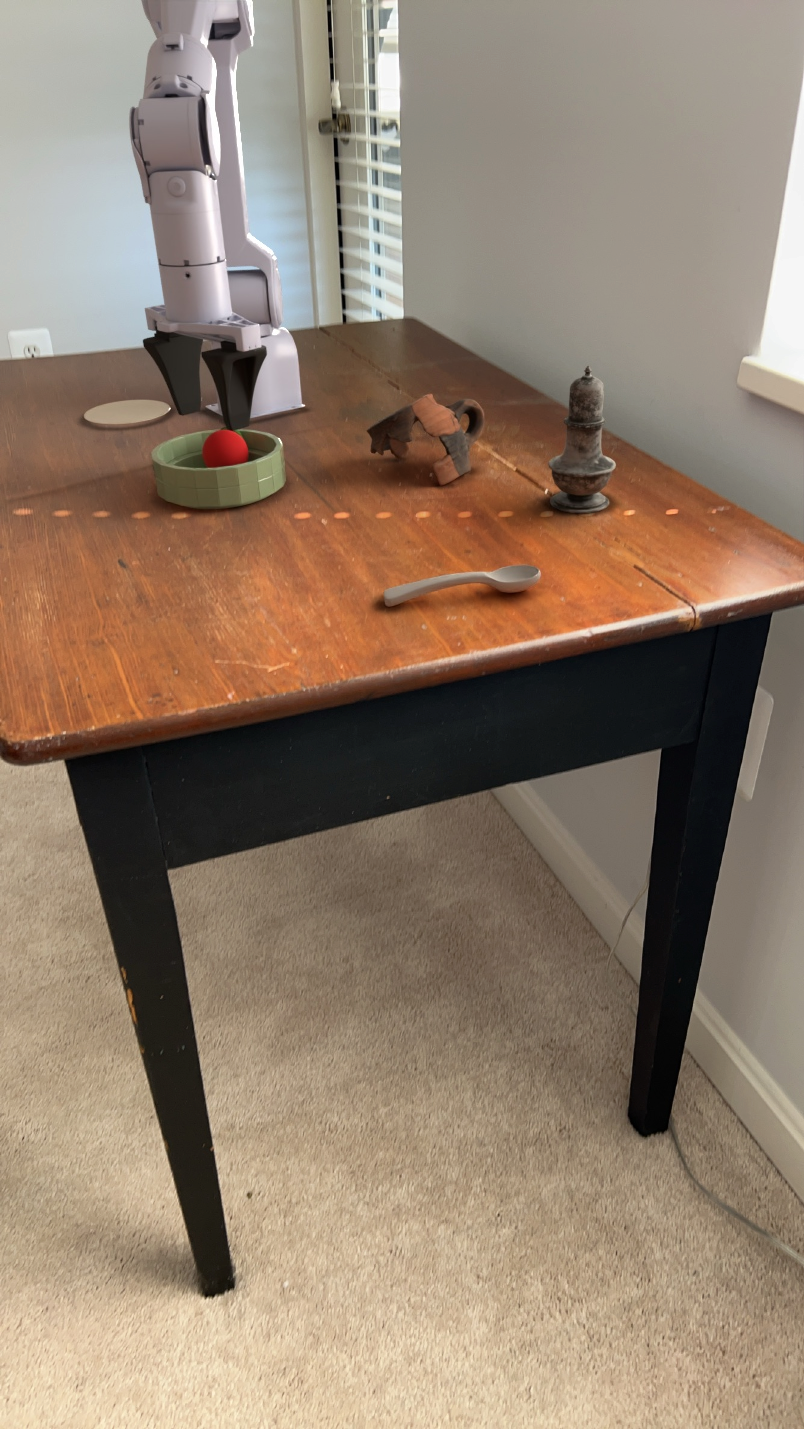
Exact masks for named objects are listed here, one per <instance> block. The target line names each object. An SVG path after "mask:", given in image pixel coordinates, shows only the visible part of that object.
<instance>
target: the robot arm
mask: <svg viewBox="0 0 804 1429" xmlns="http://www.w3.org/2000/svg"><path fill="white" fill-rule="evenodd" d="M141 4H142V8H143V12H144V15H145V17H146V19H147V20H148V22H149V24H150V27H151V29H152V32H153V33H154V36H155V37H156V39H155V40H154V42H153V43H152V44H151V46H150V47H149V50H148V53H147V57H146V66H145V75H144V76H145V77H144V86H143V95H142V98H140V99H139V101H138V106H137V107H135V106H131V107H130V109H129V114H128V115H129V119H128V120H129V122H128V125H129V137H130V144H131V149H132V154H133V157H134V158H133V159H134V161H135V165H136V168H137V171H138V174H139V175H138V176H139V179H140V184H141V189H142V190H141V191H142V195H143V198H144V203H145V204H148V205H149V210H150V218H151V225H152V231H153V238H154V244H155V251H156V252H155V253H156V258H157V263H158V264H157V265H158V271H159V278H160V285H161V292H162V297H163V298H162V299H163V303H164V304H158V305H153V306H148V307H145V308H144V313H145V319H146V326H147V330H148V331H153V332H154V333H153V336H150V337H146V338H143V339H142V345H143V348H144V349H145V351H146V352H147V353H148V354H149V355H150V357H151V358H152V360H153V362H154V363H155V365H156V366H157V368H158V370H159V372H160V373H161V376H162V378H163V380H164V382H165V384H166V387H167V389H168V391H169V394H170V396H171V399H172V402H173V404H174V406H175V409H176V412H177V413H178V415H179V416H186V415H187V416H188V415H190V414H194V413H198V412H201V406H202V394H201V393H202V391H201V378H200V377H201V376H200V375H201V374H200V372H201V371H200V366H201V358H202V359H203V361H204V363H205V365H206V367H207V368H208V371H209V373H210V374H211V377H212V380H213V383H214V386H215V395H216V402H217V403H213V404H208V405H205V407H204V408H205V409H208V410H210V411H212V412H214V413H216V414H217V415H220V416H222V419H223V422H224V425H225V427H226V428H227V430H230V431H234V430H238V429H246V428H248V427H249V426H250V422H251V419H253V418H257V417H262V416H266V415H271V414H276V413H277V414H278V413H281V412H285V411H291V410H294V409H299V408H304V407H306V405H305V404H303V399H302V389H301V388H302V386H301V377H300V376H301V375H300V365H299V355H298V349H297V346H296V343H295V340H294V337H293V335H292V334H291V332H289V330H287V329H286V328H285V327H281V325H282V324H283V322H284V300H283V289H282V288H283V287H282V281H281V274H280V272H279V264H278V258H277V257H276V255H275V253H274V252H273V250H272V249H271V248H269V247H268V246H266V245H265V244H263V243H262V242H261V241H259V240H258V239H256V238H255V237H254V236H252V234H251V232H250V221H249V211H248V202H247V192H246V180H245V170H244V161H243V150H242V141H241V131H240V121H239V110H238V99H237V90H236V89H237V88H236V72H237V63H238V58H239V57H238V56H239V55H241V54H242V53H244V52H246V51H247V50H249V49H250V48H252V47H253V46H254V40H253V37H254V35H255V26H254V25H255V24H254V15H253V1H252V0H141ZM238 267H240V268H241V267H254V269H231V270H230V269H229V270H228V268H238ZM204 341H208V342H209V350H205V351H202V348H203V347H202V346H203V342H204Z"/></svg>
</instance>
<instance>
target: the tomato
mask: <svg viewBox="0 0 804 1429" xmlns="http://www.w3.org/2000/svg"><path fill="white" fill-rule="evenodd" d="M219 429H220V430H218V431H216V432H214V433H212V434H211V435H210V436H208V438H207V439H206V440H205V442H204V445H203V450H202V454H203V459H204V462H205V464H206V466H207V467H208V468H217V467H225V466H233V465H238V464H243V463H247V461H248V447H247V445H246V443H245V441H244V439H243V438H242V435H241V433H240V432H239V431H238V430H234V431H230V430H227V428H226V426H224V427H221V428H219Z"/></svg>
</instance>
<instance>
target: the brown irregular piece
mask: <svg viewBox="0 0 804 1429" xmlns="http://www.w3.org/2000/svg"><path fill="white" fill-rule="evenodd" d="M464 414H466V415H467V417H468V425H467V429H465V430H466V431H465V430H463V428H462V425H461V424H460V421H461V419H462V416H463V415H464ZM417 422H419V423H420V424H421V426H422V429H423V431H424V432H425V433H427V434H428V435H429V436H430V437H432V438H439V441H440V443H441V445H442V446H443V447H444V449H445V455H444V456H443V457H442V458H440V459H439V460H437V461H435V462H434V463H432V465H431V469H432V471H433V473H434V474H435V476H436V480H437V481H438V485H439V486H441V487H442V486H445V485H446V484H449V483H450V482H453V481H454V480H455V479H458V478H459V477H460V476H463V475H464V474H467V473H470V471H471V470H472V466H471V459H470V451H471V447H473V445H474V444H475V443H476V442H477V441H478V440H479V438H480V437H481V435H482V433H483V430H484V427H485V422H486V421H485V411H484V409H483V408H482V406H481V405H480V403H478V402H477V401H476V400H474V399H472V398H462V399H460V400H457V401H456V402H453V403H452V404H449V405H445V406H444V405H442V404H439V403H437V402H436V400H435V398H434V396H433V394H432V393H428V394H424V395H423V396H421V397H420V398H418V399H416V400H414V401H412V402H411V403H409V404H408V405H405V406H403V407H402V408H400V409H398V410H396V411H395V412H392V413H391V414H389V415H387V416H385V417H384V418H382V419H381V420H378V421H377V422H375V423H374V424H372V425H370V426H369V428H367V429H366V433H367V434H368V435H369V437H370V438H371V441H370V442H371V443H370V453H371V454H373V455H374V454H376V453H378V455H380V456H382V457H383V456H384V454H385V452H386V451H390V454H392V455H393V456H394V457H395V458H396V459H397V460H402V458H403V457H404V456H406V455H407V454H408V452H409V451H410V446H409V443H411V442H413V437H412V434H411V433H412V429H413V425H415V424H416V423H417Z"/></svg>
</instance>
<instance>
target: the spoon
mask: <svg viewBox="0 0 804 1429" xmlns="http://www.w3.org/2000/svg"><path fill="white" fill-rule="evenodd" d="M541 576H542V573H541V571H540V569H539V568H538V567H537V566H536V565H530V564H514V565H507V566H503V567H500V568H497V569H495V570H493V571H466V572H457V573H456V572H455V573H450V574H449V573H448V574H443V575H437V576H433V577H428V578H424V579H420V580H416V581H413V582H409V583H404V584H400V585H396V586H392V587H389V588H387V589H385V590H383V594H382V595H383V601H384V604H385V606H386V607H389V608H390V607H394V606H397V605H399V604H402V603H405V602H407V601H410V600H412V599H413V600H414V599H416V598H418V597H421V596H425V595H428V594H432V593H434V592H439V591H441V590H445V589H448V588H454V587H458V586H461V585H468V584H469V585H470V584H480V585H485V586H489V587H492V588H494V589H496V590H497V591H499V592H502V593H507V594H509V593H510V594H512V593H520V592H524V591H526V590H529V589H531V588H533V587H534V586H536V585H537V584H538V583H539V581H540V580H541Z"/></svg>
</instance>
